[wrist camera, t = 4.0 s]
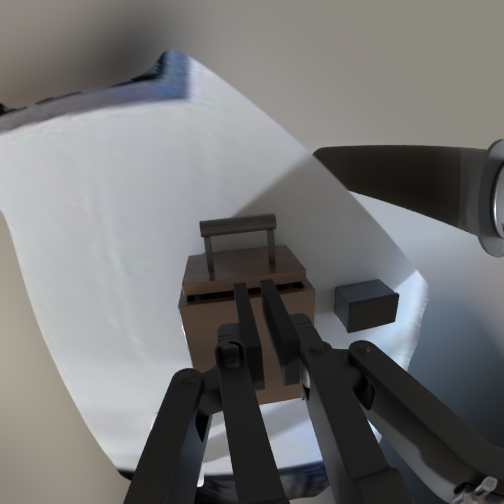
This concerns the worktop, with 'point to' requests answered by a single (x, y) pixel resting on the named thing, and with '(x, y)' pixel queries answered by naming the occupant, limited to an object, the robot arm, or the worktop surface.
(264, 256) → the drawer
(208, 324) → the cabinet
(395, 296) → the dark grey rectangular block
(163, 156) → the worktop surface
